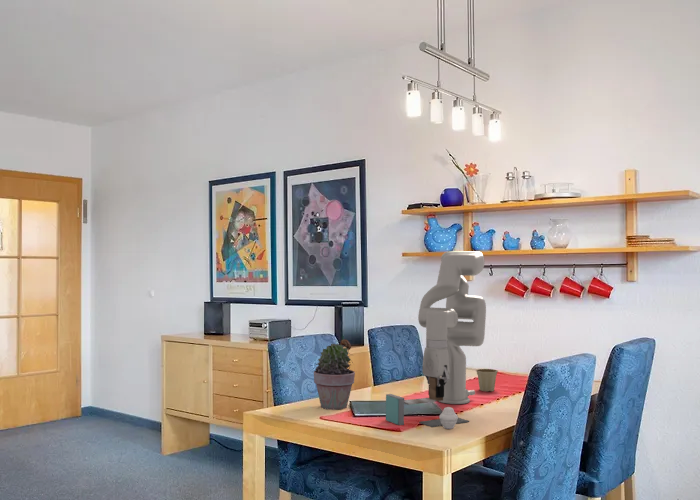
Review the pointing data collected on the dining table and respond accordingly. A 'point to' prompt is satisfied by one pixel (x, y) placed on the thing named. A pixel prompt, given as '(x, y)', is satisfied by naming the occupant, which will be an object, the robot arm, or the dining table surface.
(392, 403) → the tile
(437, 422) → the mat
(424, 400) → the turner
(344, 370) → the potted plant
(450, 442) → the dining table surface
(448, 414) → the muffin
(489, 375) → the flower pot
